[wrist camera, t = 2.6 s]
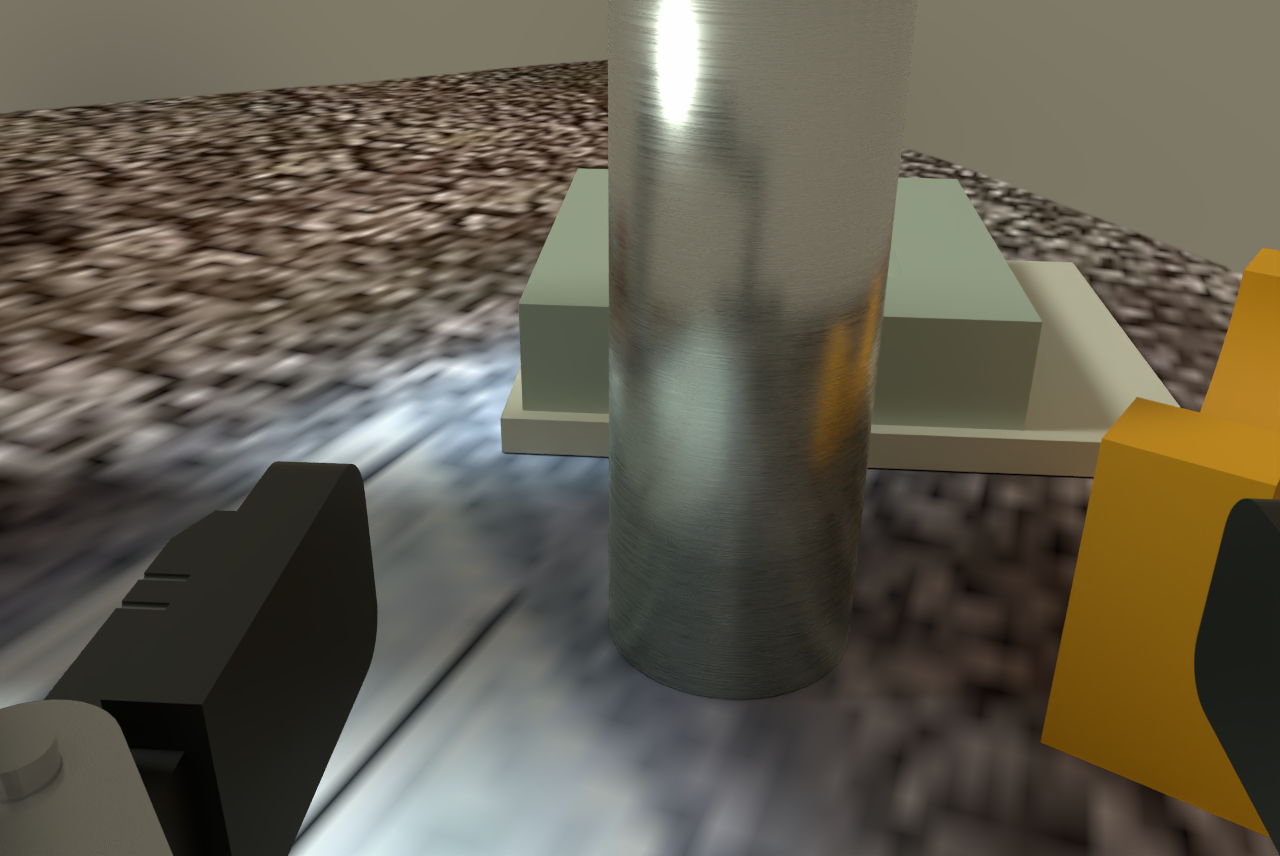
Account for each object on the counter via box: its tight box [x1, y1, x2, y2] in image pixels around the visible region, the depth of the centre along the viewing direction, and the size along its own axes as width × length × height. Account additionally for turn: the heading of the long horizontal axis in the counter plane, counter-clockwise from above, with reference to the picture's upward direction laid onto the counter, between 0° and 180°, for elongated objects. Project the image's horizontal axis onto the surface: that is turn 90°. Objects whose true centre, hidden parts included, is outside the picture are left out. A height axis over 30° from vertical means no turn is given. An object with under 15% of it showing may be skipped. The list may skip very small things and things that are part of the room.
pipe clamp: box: [1041, 248, 1280, 837], centre depth 24 cm, size 12×4×6 cm, turn 144°
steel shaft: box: [608, 0, 917, 699], centre depth 23 cm, size 5×5×13 cm
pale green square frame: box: [501, 169, 1181, 477], centre depth 37 cm, size 18×14×4 cm
